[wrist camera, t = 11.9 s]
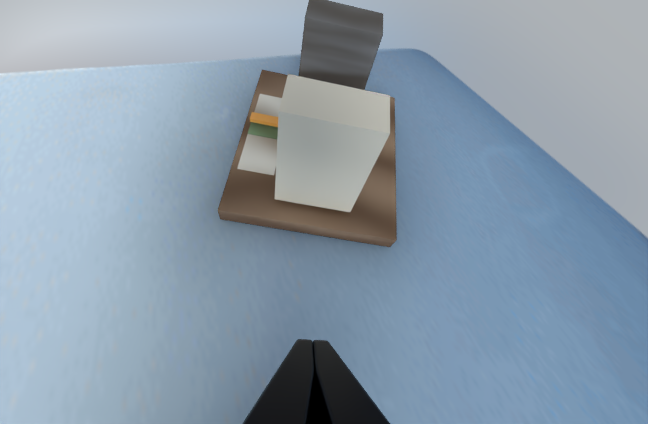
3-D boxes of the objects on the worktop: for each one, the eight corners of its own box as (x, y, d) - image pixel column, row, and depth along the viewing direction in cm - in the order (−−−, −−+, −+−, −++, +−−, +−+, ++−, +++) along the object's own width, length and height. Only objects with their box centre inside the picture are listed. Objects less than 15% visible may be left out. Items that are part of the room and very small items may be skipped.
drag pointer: (308, 133, 27) (311, 116, 26) (249, 122, 27) (248, 103, 25) (309, 125, 28) (312, 108, 26) (252, 114, 27) (251, 95, 26)
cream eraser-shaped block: (350, 212, 24) (390, 133, 16) (274, 199, 24) (278, 111, 16) (354, 145, 28) (389, 53, 20) (288, 132, 27) (298, 32, 19)
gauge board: (389, 247, 26) (448, 185, 17) (220, 219, 24) (196, 137, 16) (389, 108, 34) (429, 21, 25) (262, 82, 32) (260, -19, 24)
